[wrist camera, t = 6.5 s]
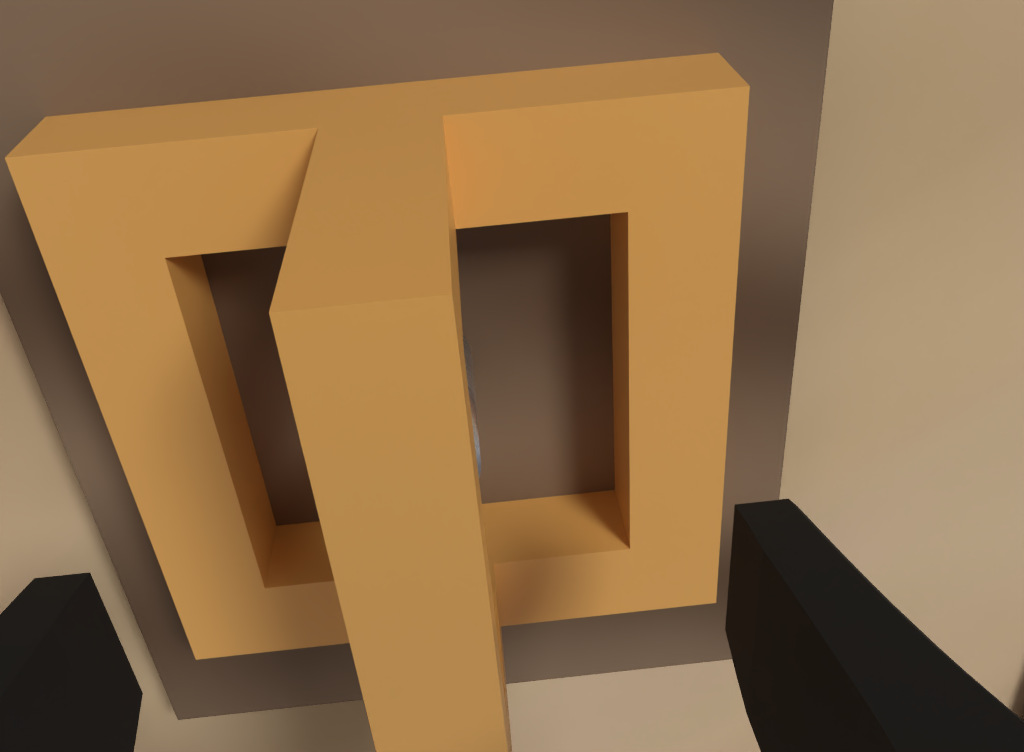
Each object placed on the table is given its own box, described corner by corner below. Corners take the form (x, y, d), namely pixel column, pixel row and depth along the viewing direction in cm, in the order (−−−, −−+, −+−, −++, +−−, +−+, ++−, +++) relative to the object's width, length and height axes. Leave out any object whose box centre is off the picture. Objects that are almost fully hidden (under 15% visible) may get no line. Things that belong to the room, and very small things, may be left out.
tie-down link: (695, 542, 18) (801, 852, 13) (211, 594, 18) (129, 929, 13) (718, 52, 13) (903, 249, 8) (45, 116, 13) (-197, 358, 8)
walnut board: (748, 618, 21) (762, 655, 20) (188, 679, 20) (177, 719, 20) (854, -496, 11) (890, -516, 10) (-240, -410, 10) (-297, -422, 10)
